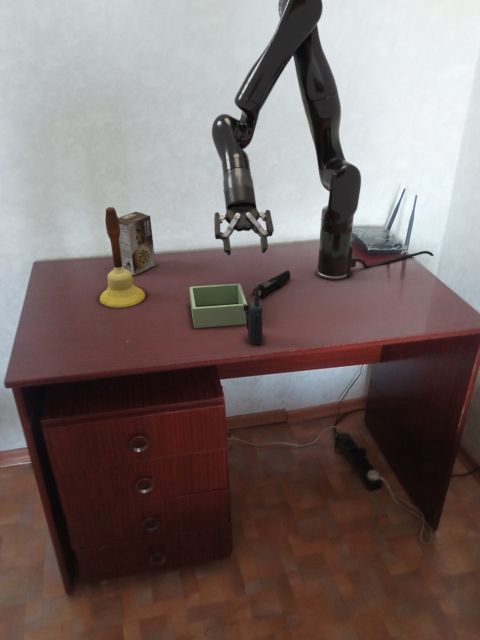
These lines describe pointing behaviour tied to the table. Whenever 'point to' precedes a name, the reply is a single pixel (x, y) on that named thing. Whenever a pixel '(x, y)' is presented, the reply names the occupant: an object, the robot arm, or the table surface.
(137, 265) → the coffee box
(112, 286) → the handbell
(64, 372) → the table surface
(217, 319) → the square frame
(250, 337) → the two-way radio
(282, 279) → the electric trimmer
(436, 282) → the table surface
